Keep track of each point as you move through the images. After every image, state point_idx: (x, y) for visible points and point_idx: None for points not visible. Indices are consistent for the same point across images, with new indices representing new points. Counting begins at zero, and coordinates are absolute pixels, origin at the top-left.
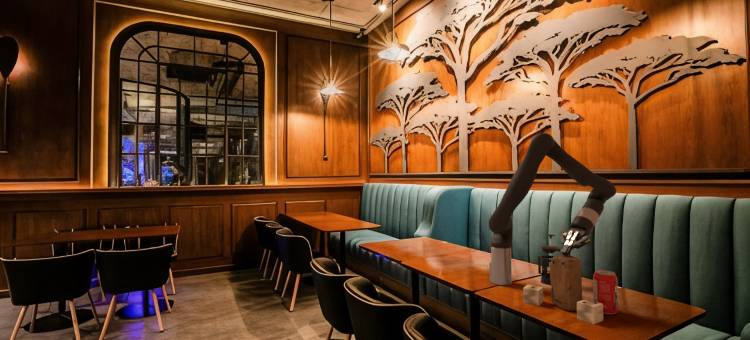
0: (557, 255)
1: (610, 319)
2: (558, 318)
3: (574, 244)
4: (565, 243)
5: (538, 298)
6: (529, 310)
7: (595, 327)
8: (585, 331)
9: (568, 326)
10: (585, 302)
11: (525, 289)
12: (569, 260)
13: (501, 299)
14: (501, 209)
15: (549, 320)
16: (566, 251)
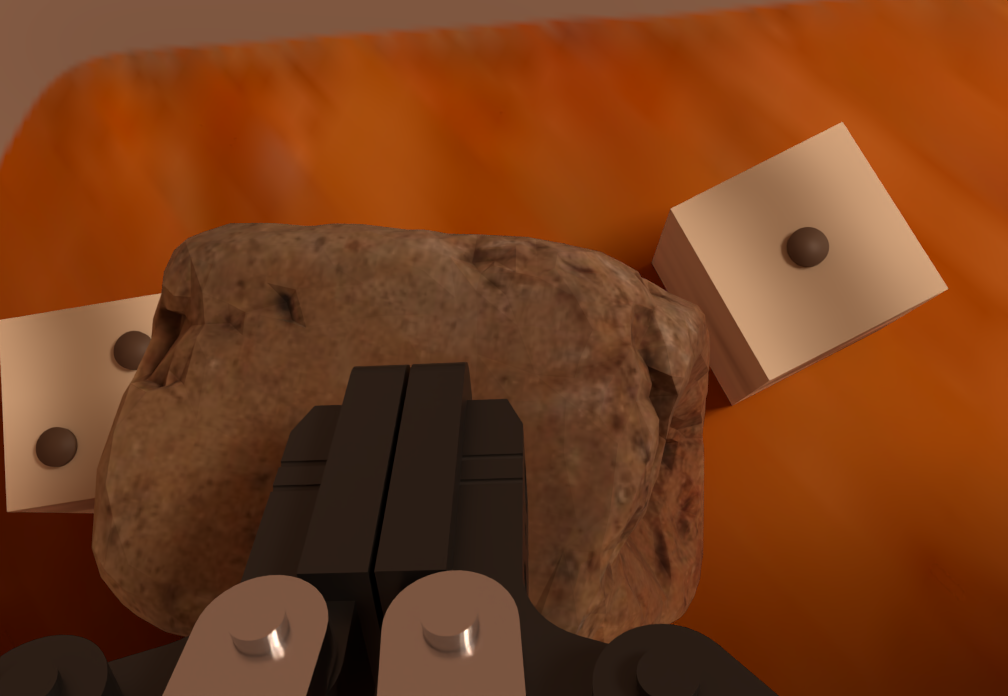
0: (573, 339)
1: (85, 603)
2: (326, 177)
3: (45, 661)
4: (461, 596)
5: (661, 238)
6: (587, 86)
7: (47, 302)
8: (41, 157)
9: (170, 115)
10: (113, 348)
11: (810, 140)
12: (168, 285)
13: (957, 49)
14: None
15: (330, 72)
16: (334, 429)
